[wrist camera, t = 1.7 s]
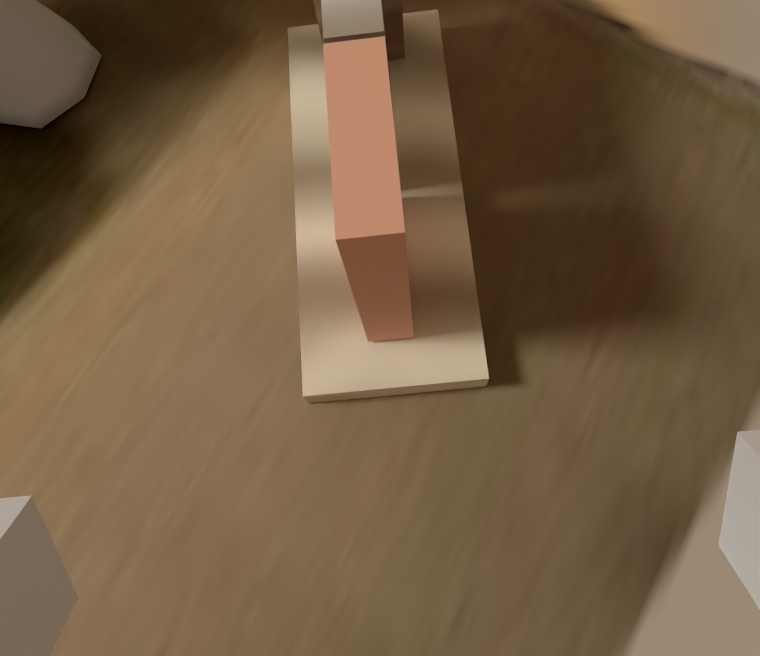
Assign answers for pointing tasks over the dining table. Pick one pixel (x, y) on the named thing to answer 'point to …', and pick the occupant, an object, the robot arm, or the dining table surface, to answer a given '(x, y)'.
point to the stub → (367, 185)
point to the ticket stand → (420, 211)
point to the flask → (41, 64)
